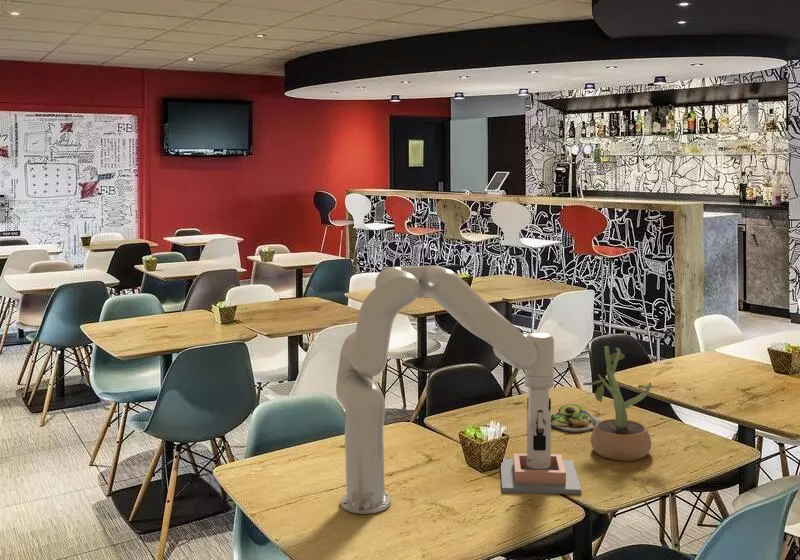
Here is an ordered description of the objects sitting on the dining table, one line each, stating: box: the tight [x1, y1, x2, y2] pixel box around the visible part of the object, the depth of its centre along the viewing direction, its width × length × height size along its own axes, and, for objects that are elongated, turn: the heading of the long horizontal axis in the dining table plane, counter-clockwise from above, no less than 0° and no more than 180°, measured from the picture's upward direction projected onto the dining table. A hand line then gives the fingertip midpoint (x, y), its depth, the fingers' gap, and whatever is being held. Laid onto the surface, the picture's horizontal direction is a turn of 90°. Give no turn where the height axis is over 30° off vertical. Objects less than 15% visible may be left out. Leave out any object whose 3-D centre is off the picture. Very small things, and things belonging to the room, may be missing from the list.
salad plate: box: [551, 403, 603, 433], centre depth 252 cm, size 19×18×5 cm
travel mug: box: [526, 397, 552, 470], centre depth 208 cm, size 6×7×20 cm
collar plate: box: [500, 453, 582, 495], centre depth 210 cm, size 20×20×4 cm
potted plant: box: [582, 345, 654, 462], centre depth 228 cm, size 22×18×30 cm
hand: (538, 444), depth 209 cm, fingers closed on travel mug, 6 cm apart
